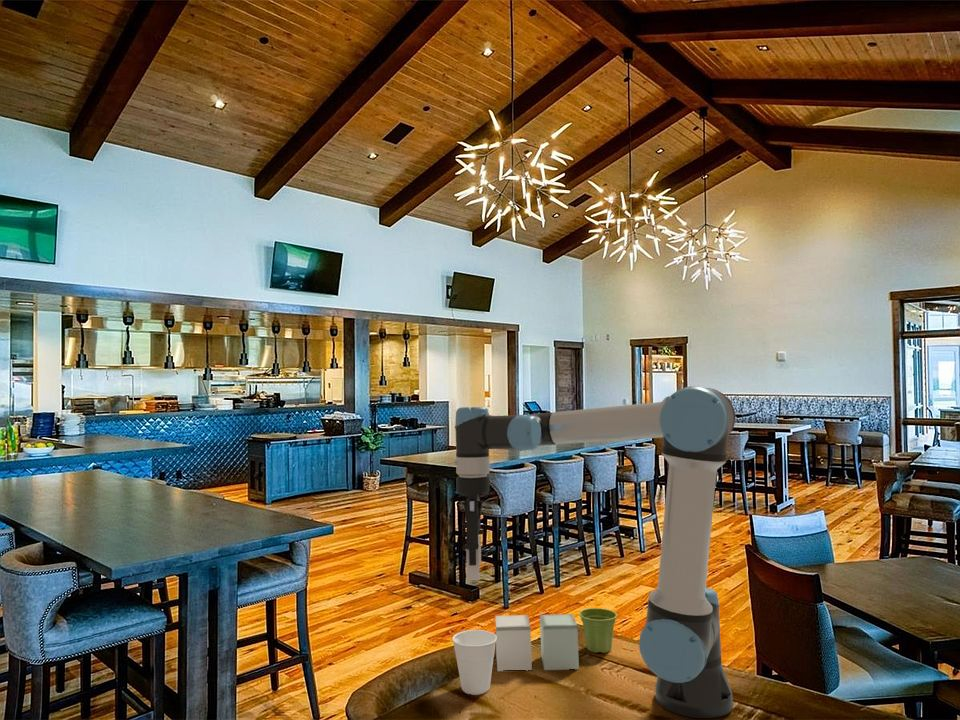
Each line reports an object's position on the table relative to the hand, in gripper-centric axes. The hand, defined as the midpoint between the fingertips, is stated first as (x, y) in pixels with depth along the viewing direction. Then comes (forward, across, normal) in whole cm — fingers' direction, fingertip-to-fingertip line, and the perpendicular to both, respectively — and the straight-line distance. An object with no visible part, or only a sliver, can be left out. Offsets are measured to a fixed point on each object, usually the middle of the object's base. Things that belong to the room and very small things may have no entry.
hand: (474, 571), depth 141 cm
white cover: (+25, -12, +9) cm, 29 cm away
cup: (+25, +1, 0) cm, 25 cm away
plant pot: (+25, -21, +30) cm, 45 cm away
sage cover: (+25, -12, +20) cm, 34 cm away
